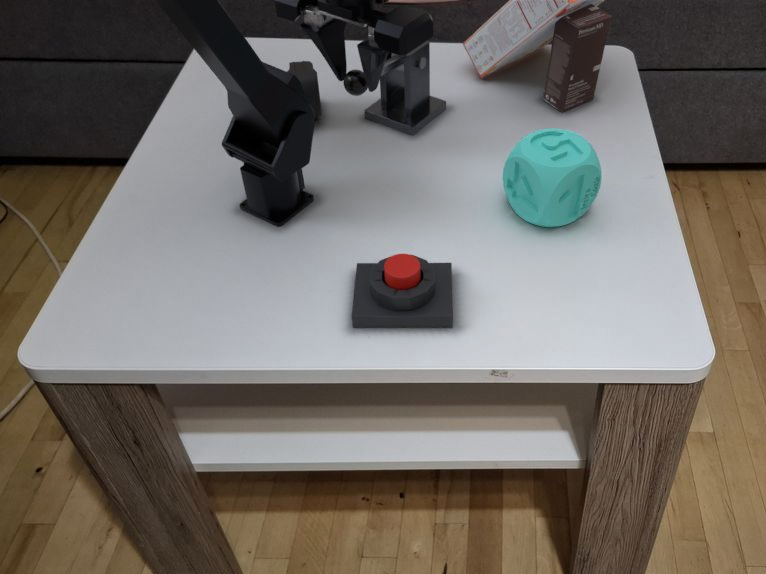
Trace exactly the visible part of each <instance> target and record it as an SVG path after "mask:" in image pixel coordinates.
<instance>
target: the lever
mask: <svg viewBox="0 0 766 574" xmlns="http://www.w3.org/2000/svg"><path fill="white" fill-rule="evenodd" d="M394 69H397V70H400V71H403V72H404V55H397V54H394V53H391V58H389V59H387V60H386V61H385V64H384V67H383V70H382V73H381V76H382V75H384V74H386V73H388V72H390V71H392V70H394ZM343 87H344V89H345V91H346V93H348V94H349V95H351V96H355V97H359V96H362V95H363V94H365V93H366V91H367V90H368V87H367V84H366V81H365V77H364V72H363V70H361V69H356V68H355V69H350V70H349V71H348V72H346V75H345V77H344V80H343Z"/></svg>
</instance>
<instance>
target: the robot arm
mask: <svg viewBox="0 0 766 574" xmlns="http://www.w3.org/2000/svg"><path fill="white" fill-rule="evenodd" d="M154 1H155V2H156V3H157V4H158V6H159V7H160V9H162V11H163V12H164V13H165V15H166V16H167V17H168V18H169V20H170V21H171V22H172V23H173V24H174V26H175V27H176V28H177V29H178V31H179V32H180V33H181V34H182V36H183V37H184V38H185V39H186V41H187V42H188V43H189V44H190V46H191V47H192V48H193V49H194V51H195V52H196V53H197V54H198V55H199V57H200V58H201V59H202V61H203V62H204V63H205V64H206V65H207V67H208V68H209V69H210V71H211V72H212V73H213V74H214V75H215V77H216V78H217V79H218V80H219V82H220V83H221V84H222V85H223V87H224V88H225V90H226V92H227V93H226V94H227V95H226V96H227V106H228V109H229V111H230V112H231V114H232V117H231V120H230V122H229V125H228V127H227V130H226V131H225V134H224V136H223V139H222V141H221V146H222V148H223V150H224V152H225V153H226V154H227V156H228V157H231V158H235V159H236V160H238V161H240V162H242V163H243V165H241V166H240V167H239V171H240V175H241V179H242V184H243V188H244V192H245V199H244V200H243V201H242V202H240V203H239V209H240V210H241V211H243V212H245V213H248V214H250V215H252V216H254V217H257V218H258V219H261V220H262V221H265V222H267V223H269V224H272V225H273V226H276V227H281V226H283V225H284V224H286V223H287V222H288V221H290V220H291V219H292V218H294V217H295V216H296V215H297V214H298V213H300V212H301V211H302V210H303V209H305V208H306V207H308V206H309V205H310V204H311V203H312V202H313V201H314V200H315V196H314V194H312V193H309V192H308V191H305V189H306V186H305V180H304V173H303V168H304V167H306V166H307V165H309V164H310V160H311V154H312V146H313V139H314V130H315V120H316V119H315V114H314V111H313V108H312V106H311V105H310V103H312V102H313V101H314V99H313V98H311V97H309V96H308V95H307V94H306V93H305V91H304V89H303V87H302V85H301V82H300V81H299V79H298V78H297V77H296V76H295V75H293V74H291V73H288V72H287V71H286V70H285V69H281V68H279V67H276V66H273V65H271V64H269V63H266V62H264V61H262V60H261V59H260V57H259V55H258V54H257V52H256V51H255V50H254V48H253V47H252V46H251V44H250V43H249V41H248V40H247V38H246V37H245V35H244V34H243V33H242V31H241V30H240V29H239V27H238V26H237V24H236V23H235V21H234V20H233V19H232V17H231V16H230V14H229V13H228V12H227V10H226V9H225V7H224V6H223V4H222V3H221V1H220V0H154ZM389 1H390V0H274V5H275V12H276V17H278V18H281V19H284V20H287V21H290V22H296V21H297V20H298V19H299V18H300V17H301V16H303V22H301V23H300V24H299V28H300V31H302V32H304V33H305V34H306V35H307V36H308V37H309V39H310V40H311V41H312V43H313V44H314V45H315V47H316V48H317V50H318V51H319V52H320V54H321V55H322V57H323V58H324V60H325V61H326V63H327V65H328V66H329V68H330V70H331V71H332V73H333V74H334V76H335V77H336V79H337V80H338V81H339V82H344V77H345V75H346V74H347V73H348V72H347V69H348V66H347V65H348V64H347V53H346V52H347V51H346V39H345V30H346V27H347V24H349V23H350V24H353V25H355V26H360V27H362V28H367V31H368V33H367V38H365V39H363V40H362V41H361V42H359V43H357V44H356V47H357V51H358V56H359V59H360V63H361V68H362V72H364V77H365V81H366V84H367V87H368V88H367V90H368V92H371V93H373V92H374V91H376V90H377V89H378V86H379V84H380V77H381V73H382V70H383V67H384V64H385V61H386V58H387V56H388V53H389V52H390V53H394V54H397V55H407V54H409V53H410V52H411V51H413V50H414V49H416V48H417V47H419V46H420V45H421V44H423V43H424V42H426V41H429V40H430V39H431V38H433V37H434V19H433V17H432V15H431V14H430V13H429V11H426V10H423V9H420V8H416V7H413V6H409V5H406V4H400V5H398V6H397V7H396V8H394V9H392V10H391V11H390V10H389V11H388V10H387V11H380V10H377V9H378V5H383V6H384V5H385V4H387V3H388V2H389Z"/></svg>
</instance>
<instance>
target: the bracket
mask: <svg viewBox="0 0 766 574" xmlns="http://www.w3.org/2000/svg"><path fill="white" fill-rule="evenodd" d="M430 44H431V43H430V41H429V40H427V41H426V42H424V43H423V44H421V45H420V46H419V47H417V48H416V49H414V50H413V51H411V52H410V53H409V54H407V55H404V72H403V71H400V70H397V69H394V70H392V71H390V72H388V73H386V74H384V75H382V76H381V77H380V80H379V89H380V91H379V92H380V99H378V100H377V101H375V102H374V103H372V104H370V105H369V106H368V107H367V108H365V109H364V111H363V112H364V119H366V120H369V121H372V122H375V123H377V124H380V125H382V126H385V127H388V128H391V129H394V130H397V131H399V132H401V133H403V134H407V135H410V136H412V137H413V136H415V135H416V134H418V132H419V131H421V130H422V129H424V128H425V127H426V126H428V124H430V123H431V122H433V120H435V119H436V118H437V117H438V116H440V115H441V114H442V113H444V111H446V110H447V100H445V99H441V98H439V97H437V96H432V95H431V78H430V77H431V70H430V69H431V67H430V65H431V63H430V62H431V61H430V59H431V57H430V54H431V53H430V52H431V51H430V50H431V48H430ZM389 58H391V53H390V52H389V53H388V56H387V58H386V60H387V59H389Z"/></svg>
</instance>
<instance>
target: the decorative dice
mask: <svg viewBox="0 0 766 574" xmlns="http://www.w3.org/2000/svg"><path fill="white" fill-rule="evenodd" d="M601 184H602V167H601V162H600V159H599V156H598V155H597V152H596V150H595V148H594V147H593V146H592V144H591V143H590V142H589V141H588V140H587V139H586V138H585V137H584V136H582V135H581V134H579V133H577V132H574V131H571V130H568V129H563V128H543V129H538V130H535V131H532V132H530V133H529V134H527V135H525V136H524V137H523V138H521V139H520V140H519V141H518V142H517V143H516V144H515V145H514V146H513V148H512V149H511V151H510V152H509V154H508V156H507V157H506V159H505V163H504V166H503V170H502V186H503V189H504V192H505V196H506V198H507V199H506V200H507V201H508V203H509V205H510V206H511V208H512V210H513V211H514V212H515V213H516V215H517V216H519V218H521V219H522V220H524V221H525V222H527V223H529V224H532V225H534V226H538V227H542V228H543V227H545V228H557V227H562V226H563V227H564V226H566V225H569V224H572V223H573V222H575V221H577V220H578V219H579V218H581V216H583V215H584V214H586V212H587V211H588V210H589V208H590V207H591V206H592V204H593V203H594V202H595V200H596V198H597V196H598V194H599V192H600V189H601Z"/></svg>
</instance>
